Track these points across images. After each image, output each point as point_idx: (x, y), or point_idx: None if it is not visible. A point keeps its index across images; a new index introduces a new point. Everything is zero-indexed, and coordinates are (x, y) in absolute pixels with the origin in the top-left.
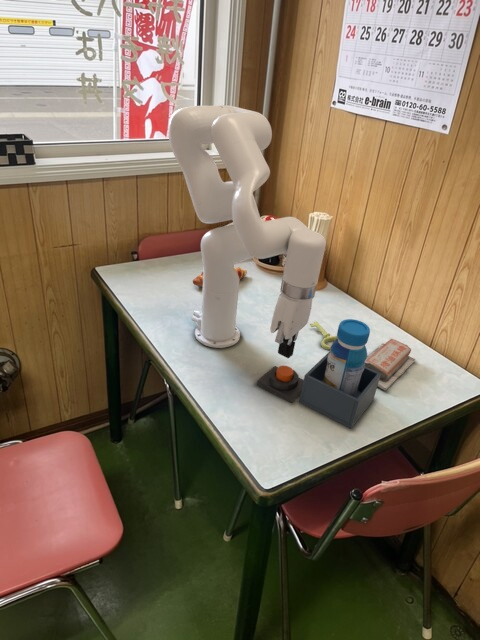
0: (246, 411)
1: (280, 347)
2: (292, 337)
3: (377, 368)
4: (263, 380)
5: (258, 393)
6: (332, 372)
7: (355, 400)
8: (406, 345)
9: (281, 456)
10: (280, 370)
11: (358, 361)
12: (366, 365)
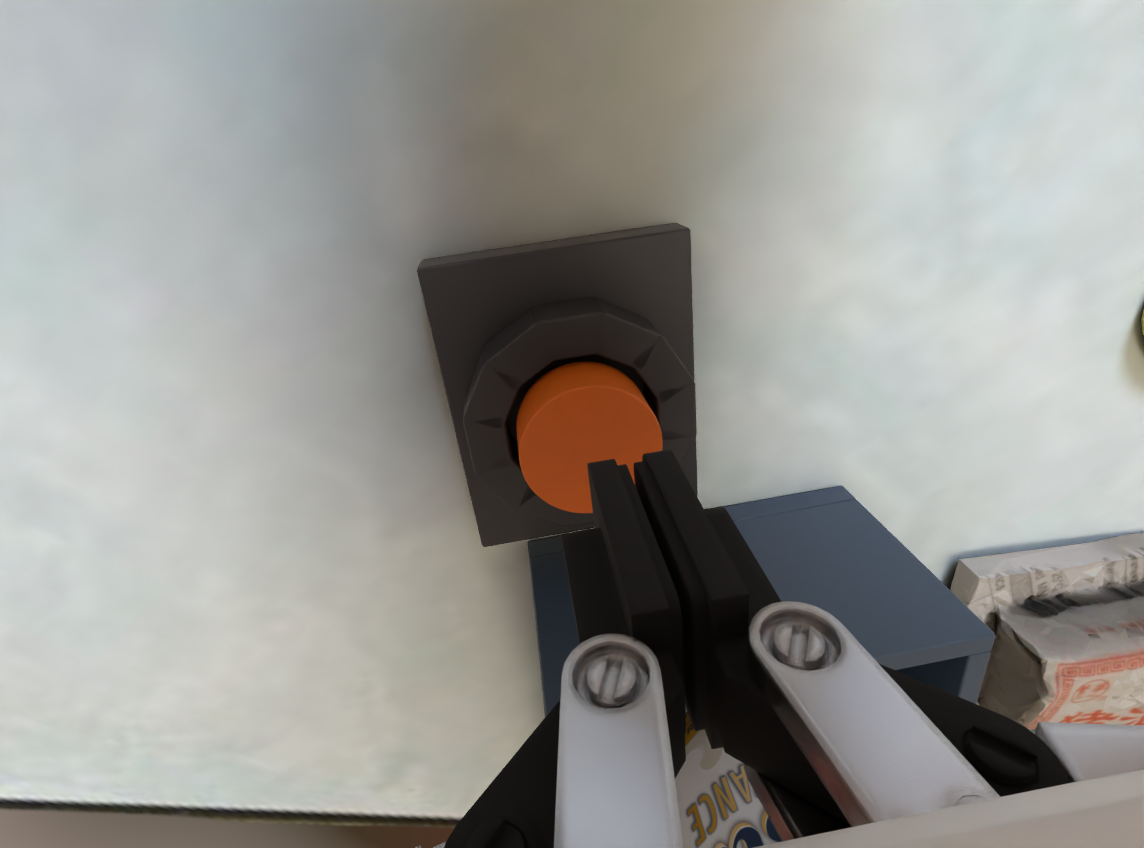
0: (156, 412)
1: (571, 583)
2: (766, 770)
3: (1023, 719)
4: (458, 302)
5: (363, 335)
6: None
7: None
8: None
9: (141, 720)
10: (563, 428)
11: None
12: (1029, 663)
